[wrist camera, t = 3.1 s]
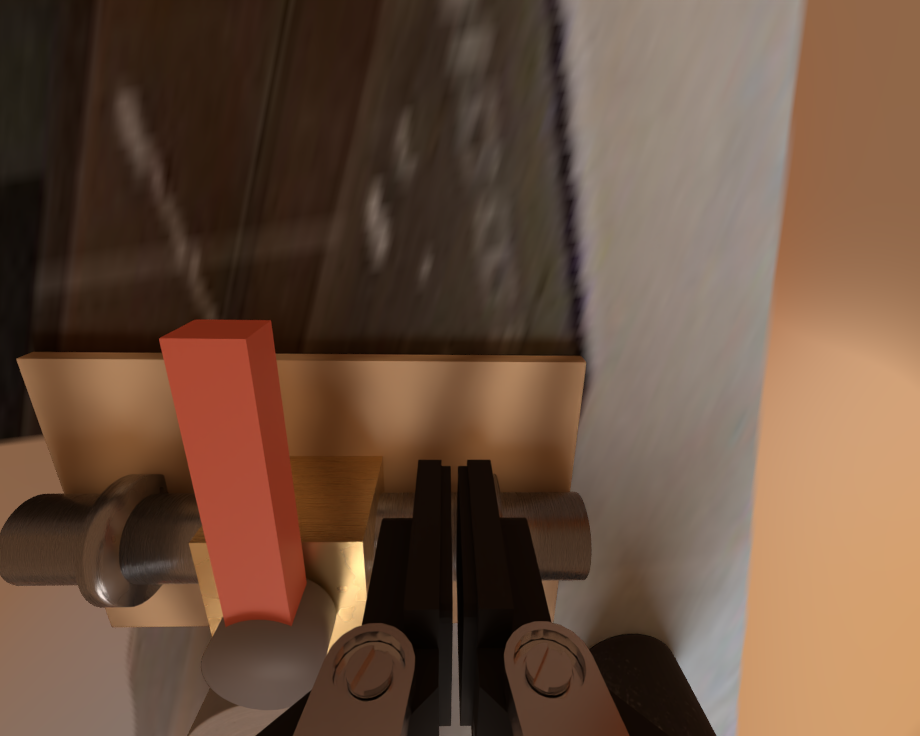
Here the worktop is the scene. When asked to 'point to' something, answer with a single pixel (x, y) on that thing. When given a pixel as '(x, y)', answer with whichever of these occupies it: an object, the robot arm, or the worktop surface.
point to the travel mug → (651, 683)
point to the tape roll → (230, 718)
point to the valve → (185, 550)
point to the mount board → (316, 427)
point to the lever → (247, 513)
